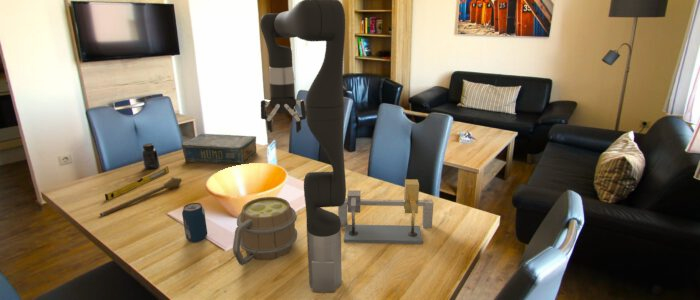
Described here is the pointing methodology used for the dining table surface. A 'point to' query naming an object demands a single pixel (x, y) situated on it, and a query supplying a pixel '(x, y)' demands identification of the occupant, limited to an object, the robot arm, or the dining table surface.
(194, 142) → the metal box
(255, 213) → the mug
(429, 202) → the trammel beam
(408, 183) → the slide head
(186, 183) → the dining table surface
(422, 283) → the dining table surface
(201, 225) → the soda can
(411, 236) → the flange plate
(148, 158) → the supplement bottle
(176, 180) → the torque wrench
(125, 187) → the spirit level
